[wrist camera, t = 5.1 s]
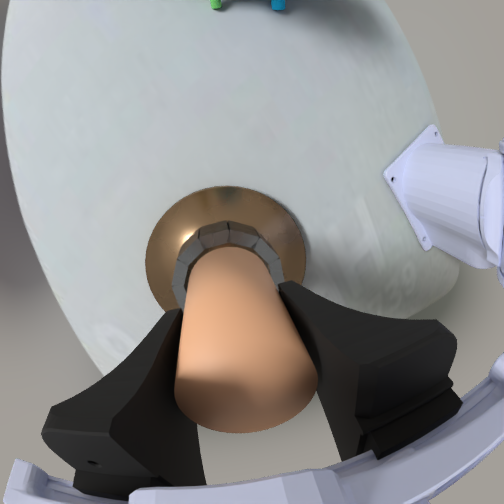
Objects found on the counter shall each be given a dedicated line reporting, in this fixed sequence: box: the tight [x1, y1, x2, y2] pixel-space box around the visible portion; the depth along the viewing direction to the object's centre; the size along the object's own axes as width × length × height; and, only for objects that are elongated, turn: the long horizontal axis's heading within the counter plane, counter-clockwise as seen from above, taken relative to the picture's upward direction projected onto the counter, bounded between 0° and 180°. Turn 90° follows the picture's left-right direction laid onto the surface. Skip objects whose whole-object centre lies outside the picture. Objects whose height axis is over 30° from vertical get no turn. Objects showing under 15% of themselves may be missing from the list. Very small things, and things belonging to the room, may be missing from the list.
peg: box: [174, 247, 318, 433], centre depth 10 cm, size 4×4×7 cm
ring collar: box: [145, 186, 306, 314], centre depth 19 cm, size 12×12×3 cm
